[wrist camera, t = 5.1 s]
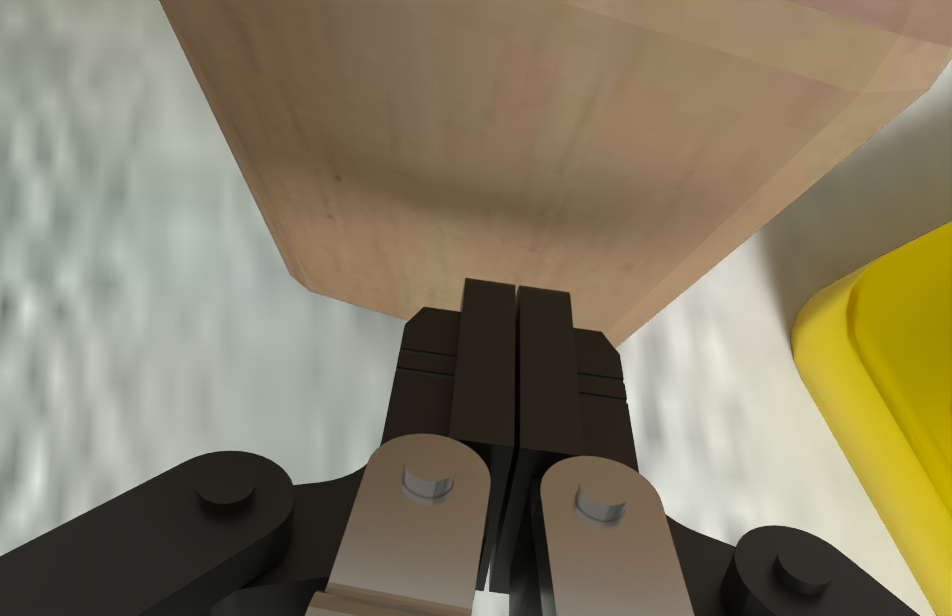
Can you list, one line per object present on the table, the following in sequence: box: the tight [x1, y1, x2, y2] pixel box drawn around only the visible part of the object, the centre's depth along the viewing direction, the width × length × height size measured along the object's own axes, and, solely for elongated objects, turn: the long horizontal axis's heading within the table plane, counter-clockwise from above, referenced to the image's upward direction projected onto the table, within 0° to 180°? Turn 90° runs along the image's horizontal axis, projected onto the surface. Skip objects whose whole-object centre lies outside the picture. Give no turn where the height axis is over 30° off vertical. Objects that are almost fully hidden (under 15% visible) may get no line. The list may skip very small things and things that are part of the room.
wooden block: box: [159, 0, 952, 348], centre depth 19 cm, size 10×10×20 cm
